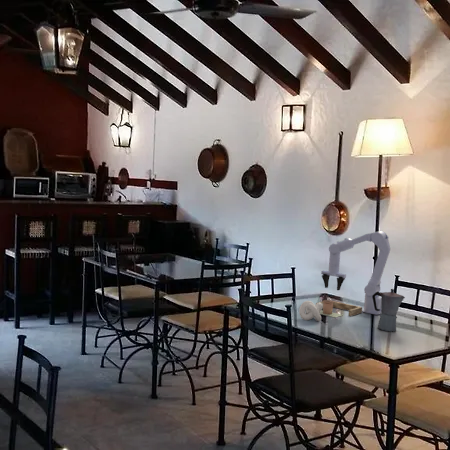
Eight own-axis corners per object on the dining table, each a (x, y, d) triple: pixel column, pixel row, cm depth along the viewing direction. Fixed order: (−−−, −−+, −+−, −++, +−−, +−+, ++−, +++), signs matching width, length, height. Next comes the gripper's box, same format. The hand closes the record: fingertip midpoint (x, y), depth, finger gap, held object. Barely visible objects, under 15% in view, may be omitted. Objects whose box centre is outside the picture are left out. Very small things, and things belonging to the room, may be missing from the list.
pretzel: (328, 323, 306) (329, 305, 305) (305, 323, 303) (307, 305, 302) (318, 317, 317) (319, 300, 316) (296, 317, 313) (297, 300, 312)
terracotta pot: (334, 313, 327) (334, 300, 326) (331, 315, 322) (332, 302, 321) (323, 311, 329) (324, 299, 329) (320, 313, 324) (321, 301, 323)
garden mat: (343, 315, 324) (343, 314, 324) (335, 317, 318) (335, 317, 318) (319, 310, 333) (319, 309, 333) (312, 312, 326) (312, 311, 326)
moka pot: (404, 333, 295) (408, 291, 293) (372, 331, 295) (375, 289, 293) (399, 327, 304) (402, 287, 302) (367, 325, 305) (371, 285, 303)
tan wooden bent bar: (361, 312, 332) (362, 307, 332) (350, 316, 323) (351, 310, 322) (327, 305, 346) (327, 300, 345) (315, 308, 336) (315, 303, 336)
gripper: (349, 266, 342) (347, 290, 343) (326, 262, 351) (324, 285, 353) (343, 267, 337) (341, 291, 338) (320, 263, 346) (318, 287, 347)
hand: (332, 288), depth 345 cm, fingers open, 7 cm apart
